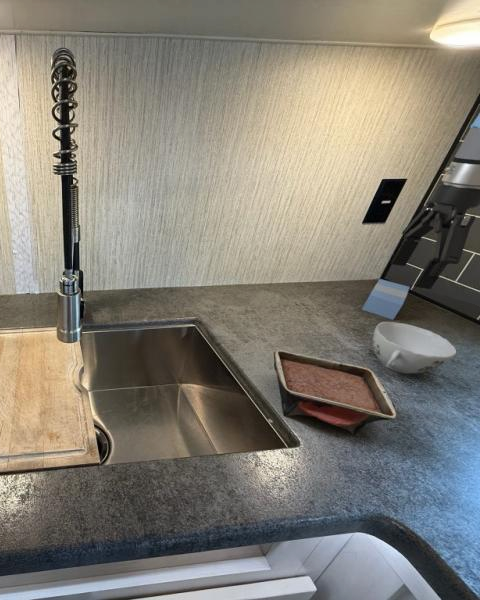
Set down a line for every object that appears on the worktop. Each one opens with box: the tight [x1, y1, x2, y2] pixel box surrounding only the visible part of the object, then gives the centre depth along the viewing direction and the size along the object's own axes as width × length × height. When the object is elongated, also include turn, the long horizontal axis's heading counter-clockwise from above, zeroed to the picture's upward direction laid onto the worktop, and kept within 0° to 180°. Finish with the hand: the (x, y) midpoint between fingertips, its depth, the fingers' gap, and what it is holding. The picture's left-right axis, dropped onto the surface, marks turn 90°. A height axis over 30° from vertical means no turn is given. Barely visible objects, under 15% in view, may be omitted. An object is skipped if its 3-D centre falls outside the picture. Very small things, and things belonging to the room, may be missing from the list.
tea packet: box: [361, 278, 410, 321], centre depth 91 cm, size 15×7×5 cm, turn 132°
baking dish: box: [273, 349, 398, 436], centre depth 59 cm, size 14×18×10 cm
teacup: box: [372, 321, 457, 375], centre depth 68 cm, size 15×12×8 cm
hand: (408, 275), depth 77 cm, fingers open, 13 cm apart
